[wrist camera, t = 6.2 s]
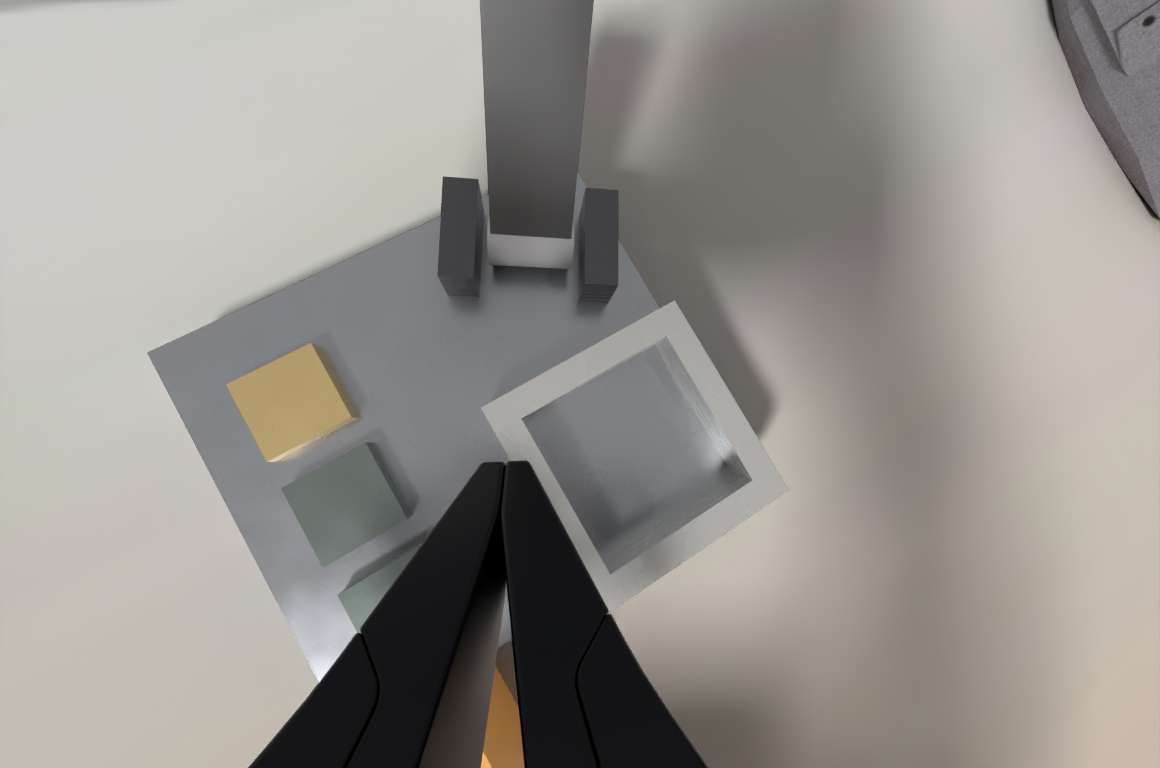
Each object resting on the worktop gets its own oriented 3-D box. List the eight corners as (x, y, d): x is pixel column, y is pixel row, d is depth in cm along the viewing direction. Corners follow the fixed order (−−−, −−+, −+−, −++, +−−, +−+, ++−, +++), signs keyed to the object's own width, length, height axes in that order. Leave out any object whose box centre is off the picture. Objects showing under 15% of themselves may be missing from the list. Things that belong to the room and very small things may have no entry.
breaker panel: (744, 480, 19) (799, 490, 15) (379, 721, 16) (332, 809, 13) (564, 180, 20) (574, 117, 16) (188, 359, 17) (89, 335, 13)
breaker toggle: (570, 278, 16) (598, -1, 11) (488, 274, 16) (474, -16, 11) (568, 254, 18) (592, -8, 12) (492, 249, 17) (481, -23, 12)
